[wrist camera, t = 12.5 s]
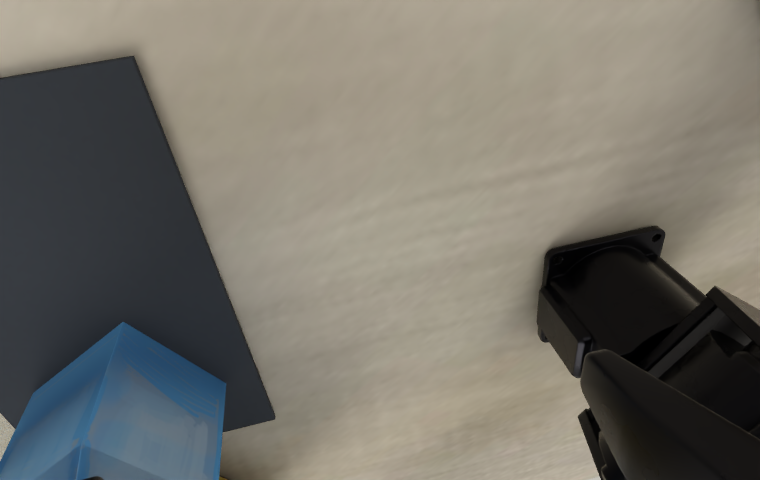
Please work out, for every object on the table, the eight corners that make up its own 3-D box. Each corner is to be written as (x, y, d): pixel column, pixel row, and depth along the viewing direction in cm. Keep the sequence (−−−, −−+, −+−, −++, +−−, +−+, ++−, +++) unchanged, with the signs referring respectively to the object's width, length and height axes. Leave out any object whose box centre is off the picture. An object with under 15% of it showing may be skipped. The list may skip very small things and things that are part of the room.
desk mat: (134, 55, 17) (132, 57, 16) (275, 415, 28) (275, 419, 28) (-256, 121, 15) (-265, 124, 15) (57, 468, 27) (55, 474, 26)
